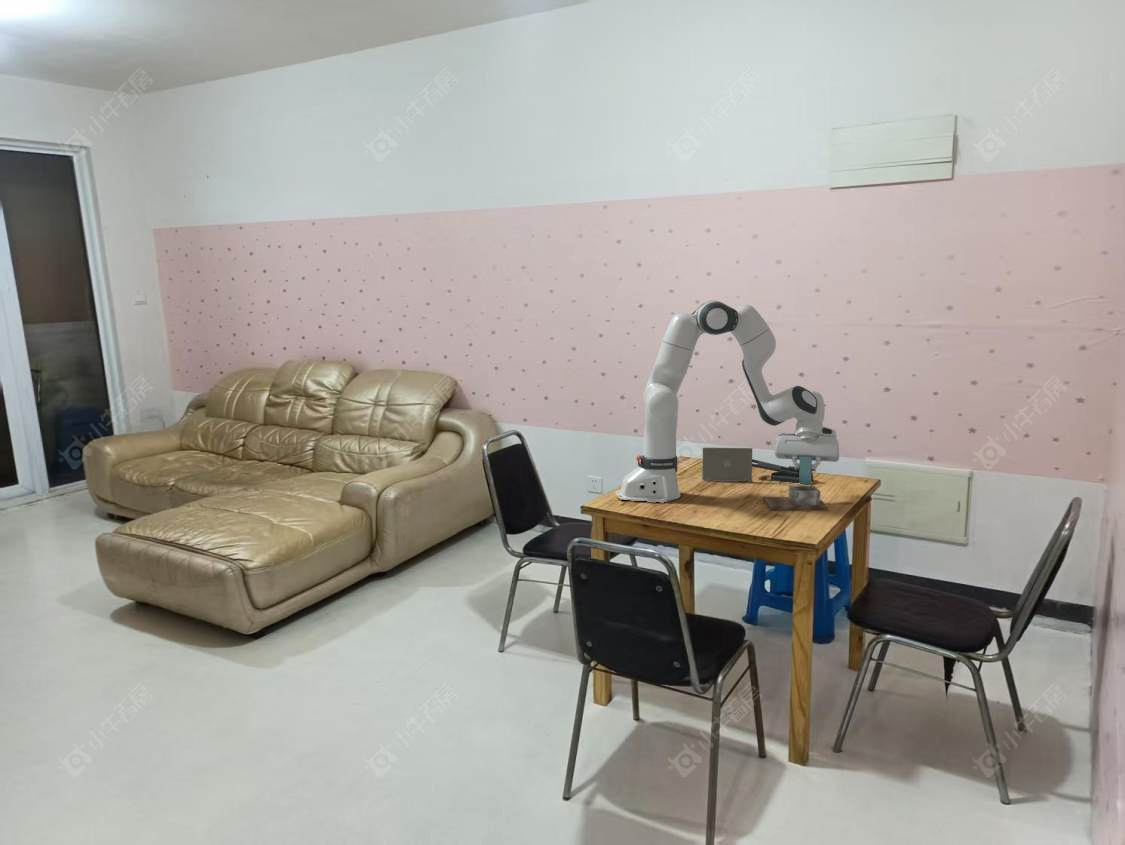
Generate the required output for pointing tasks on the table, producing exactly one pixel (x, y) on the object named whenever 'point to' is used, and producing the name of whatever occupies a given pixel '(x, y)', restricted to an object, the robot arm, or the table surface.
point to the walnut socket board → (797, 499)
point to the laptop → (727, 464)
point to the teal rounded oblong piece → (805, 470)
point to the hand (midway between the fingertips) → (805, 469)
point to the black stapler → (780, 472)
